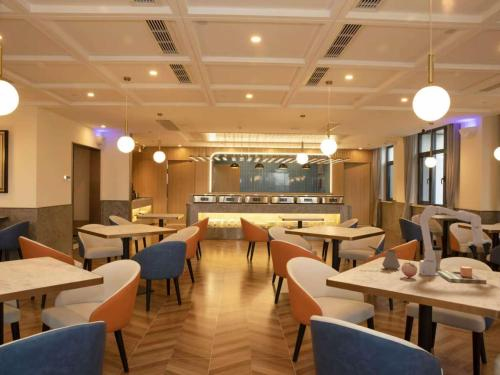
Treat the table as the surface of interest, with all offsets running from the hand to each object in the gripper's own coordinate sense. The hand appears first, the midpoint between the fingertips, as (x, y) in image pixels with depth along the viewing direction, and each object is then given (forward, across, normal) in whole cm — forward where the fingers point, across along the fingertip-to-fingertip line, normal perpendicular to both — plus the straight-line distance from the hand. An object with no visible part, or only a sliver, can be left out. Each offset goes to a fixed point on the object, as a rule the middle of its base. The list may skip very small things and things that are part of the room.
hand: (481, 256), depth 243 cm
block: (+11, -11, +2) cm, 15 cm away
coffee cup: (+10, -10, +36) cm, 38 cm away
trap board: (+12, -14, +3) cm, 19 cm away
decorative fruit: (+8, -45, +7) cm, 46 cm away
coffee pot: (+5, -47, +36) cm, 60 cm away
